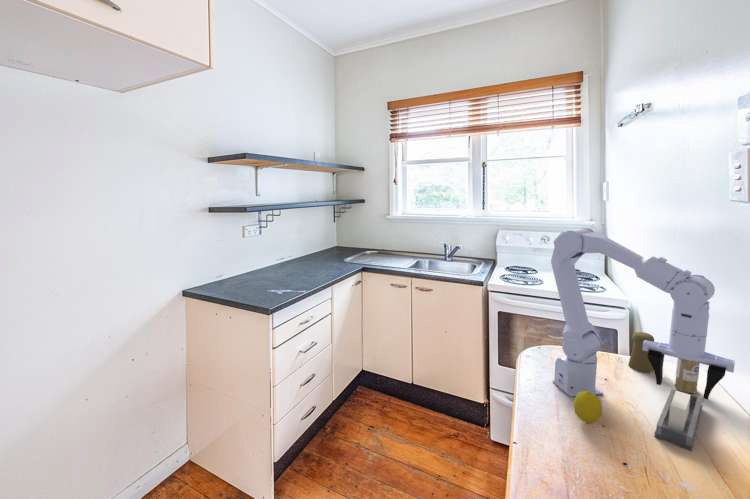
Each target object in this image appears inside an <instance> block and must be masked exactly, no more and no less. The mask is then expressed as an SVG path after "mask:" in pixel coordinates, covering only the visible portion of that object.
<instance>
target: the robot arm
mask: <svg viewBox="0 0 750 499" xmlns="http://www.w3.org/2000/svg"><path fill="white" fill-rule="evenodd" d="M553 245H554V248H553V252H552V255H551V261H550V262H551V263H550V264H551V268H552V272H553V277H554V280H555V283H556V289H557V293H558V297H559V300H560V305H561V308H562V312H563V316H564V322H565V325H564V328H563V330H562V337H563V340H562V344H561V348H562V352H563V354H565V355H563V356H562V357H561V356H560V357H558V358H556V359H555V362H554V378H553V379H552V382H553V383H555V385H557V386H558V387H559V388H560V389H561V390H562V392H564V393H565V394H566V395H567V396H569V397H576V396H577V394H578V393H580V392H583V391H590V392H591V393H593V394H595V395H596V396H597V395H603V394H604V392H603V390H601V389H600V388H598V387H597V386H596V382H597V381H596V380H597V367H598V364H597V363H598V357H597V354H598V353H597V352H599V351H600V350H601V349H602V347H603V341H602V338H601V336H600V335H599V334H598V333H597V331H596V328H595V325H593V324H592V323H591V322H590V321H589V318H588V315H587V310H586V308H585V307H586V305H585V302H584V299H583V295H582V290H581V286H580V283H579V279H578V275H577V270H576V267H575V265H576V263H577V262H578V261H579V260H580V259H581V257H582V256H583V255H585V254H598V253H599V254H601V255H603V256H606V257H608V258H610V259H612V260H613V261H614V260H615V261H616V262H618V263H620V264H623V265H624V266H626V267H629V268H631V269H633V270H634V273H635V276H636V277H637V278H639V279H640V280H641V281H644V282H646V283H648V284H650V285H652V286H653V287H655V288H657V289H659V290H661V291H663V292H664V293H667V294H669V295H670V297H671V299H672V300H673V307H672V311H671V319H670V320H671V321H670V331H669V332H670V333H669V340H668V343H666V342H664V343H663V342H657V341H654V342H652V341H647V340H645V341H644V342H643V349H642V350H644V351H648V355H647V357H648V359H649V361H650V363H651V365H652V367H653V373H654V377H655V381H656V385H658V386H661V385H662V384H663V376H664V372H663V370H664V360H665V356H669V357H673V358H677V359H678V358H681V359H685V360H689V361H693V362H697V363H700V365H705V366H707V367H708V368H707V372H706V373H707V375H706V382H705V383H706V384H705V387H704V392H703V397H702V399H704V400H709V396H710V394H711V393H712V391H713V389H714V388H715V387H716V385H717V384H718V383H719V382H720V381H722V379H723V378H725V376H726V372H728V373H732V374H733V373H734V370H735V365H736V364H735V363H736V360H734V359H729V358H726V357H724V356H723V357H722V356H720V355H717V354H713V353H711V352H707V351H706V344H707V335H708V328H709V319H710V313H709V312H710V304H711V303H710V301H709V300H710V299H711V298H712V297H713V296H714V294H715V290H716V289H715V285H714V283H713V282H712V281H710V280H709V279H708V278H706V277H705V276H704V275H702V274H692V271H690V270H688V269H686V270H683V269H680V268H679V267H677V266H674V265H673V264H671V263H668V262H667V261H668V259H667V258H665V257H663V256H660V257H656V256H648V257H644V256H642V255H640V254H638V253H637V252H635V251H633V250H631V249H630V248H627V247H625V246H624V245H622V244H620V243H618V242H616V241H615V240H613V239H611V238H609V237H608V236H606V235H604V234H603V233H601V232H598V231H594V230H593V229H591V228H589V227H582V228H581V227H580V228H578V229H573V230H570V229H569V230H564V231H562V232H560V233H559V234H558V235H557V237H556V238H555V239H554V241H553Z"/></svg>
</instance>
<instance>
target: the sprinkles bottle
mask: <svg viewBox="0 0 750 499" xmlns="http://www.w3.org/2000/svg"><path fill="white" fill-rule="evenodd" d="M676 361H677V362H676V370H675V381H674V382H675V383H674V388H675V389H676V390H679V391H682V392H686V393H689V394H696V393H698V381H699V375H700V365H701V363H697V362H693V361H689V360H685V359H681V358H677V360H676Z"/></svg>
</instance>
